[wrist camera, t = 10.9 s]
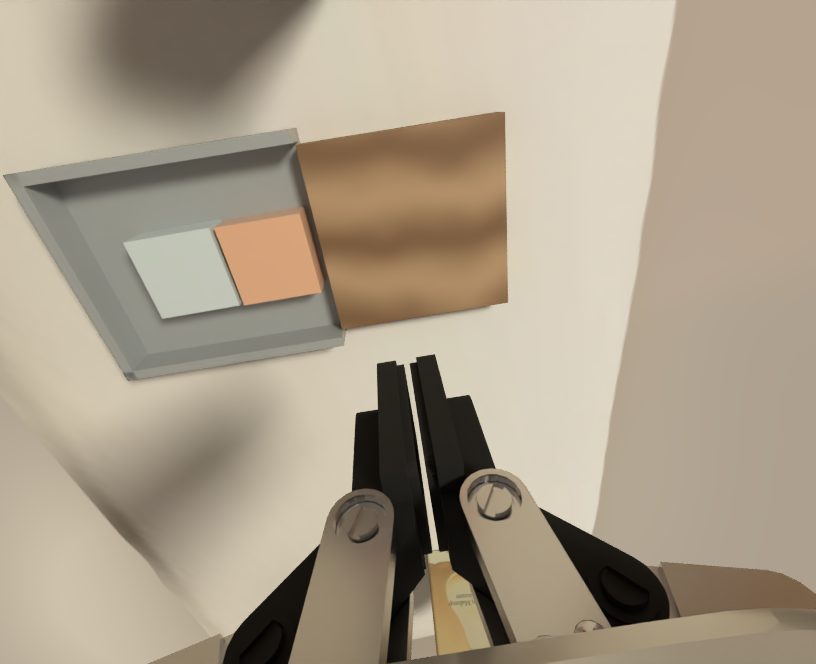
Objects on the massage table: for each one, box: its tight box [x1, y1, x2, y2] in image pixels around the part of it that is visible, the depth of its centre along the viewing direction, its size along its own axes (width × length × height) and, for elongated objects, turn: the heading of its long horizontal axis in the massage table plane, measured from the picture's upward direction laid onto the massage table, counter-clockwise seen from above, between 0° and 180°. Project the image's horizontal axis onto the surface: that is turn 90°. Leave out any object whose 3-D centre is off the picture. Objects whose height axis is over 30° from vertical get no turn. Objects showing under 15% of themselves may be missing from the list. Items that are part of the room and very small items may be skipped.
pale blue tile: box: [123, 219, 242, 319], centre depth 30 cm, size 6×6×2 cm
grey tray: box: [3, 128, 346, 381], centre depth 30 cm, size 16×18×3 cm
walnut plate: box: [295, 112, 508, 329], centre depth 30 cm, size 14×14×2 cm
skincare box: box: [428, 550, 491, 656], centre depth 48 cm, size 6×4×12 cm
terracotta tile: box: [214, 206, 325, 306], centre depth 30 cm, size 6×6×2 cm
